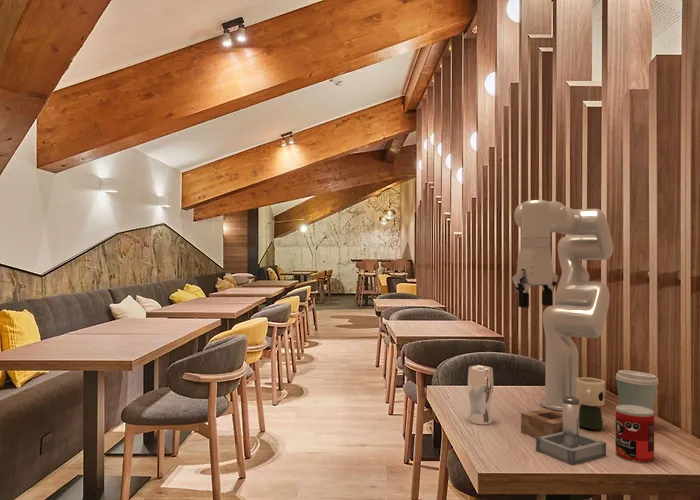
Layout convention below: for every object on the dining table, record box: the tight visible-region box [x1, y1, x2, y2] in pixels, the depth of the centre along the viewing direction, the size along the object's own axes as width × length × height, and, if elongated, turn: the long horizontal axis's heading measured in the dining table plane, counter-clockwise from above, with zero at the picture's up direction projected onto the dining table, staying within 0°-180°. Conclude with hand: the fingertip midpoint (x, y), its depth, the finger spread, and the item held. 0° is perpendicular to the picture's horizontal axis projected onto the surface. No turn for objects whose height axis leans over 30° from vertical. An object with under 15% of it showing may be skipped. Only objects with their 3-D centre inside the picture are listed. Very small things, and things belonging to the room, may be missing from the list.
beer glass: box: [467, 365, 494, 426], centre depth 147 cm, size 7×7×15 cm
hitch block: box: [520, 408, 563, 439], centre depth 136 cm, size 10×10×5 cm
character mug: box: [576, 376, 606, 430], centre depth 143 cm, size 11×7×13 cm, turn 150°
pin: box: [562, 396, 580, 449], centre depth 124 cm, size 4×4×12 cm
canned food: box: [615, 404, 655, 463], centre depth 122 cm, size 8×8×11 cm
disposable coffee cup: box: [615, 369, 659, 410], centre depth 145 cm, size 11×11×15 cm
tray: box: [535, 432, 607, 466], centre depth 124 cm, size 12×10×3 cm
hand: (535, 306), depth 146 cm, fingers open, 9 cm apart
